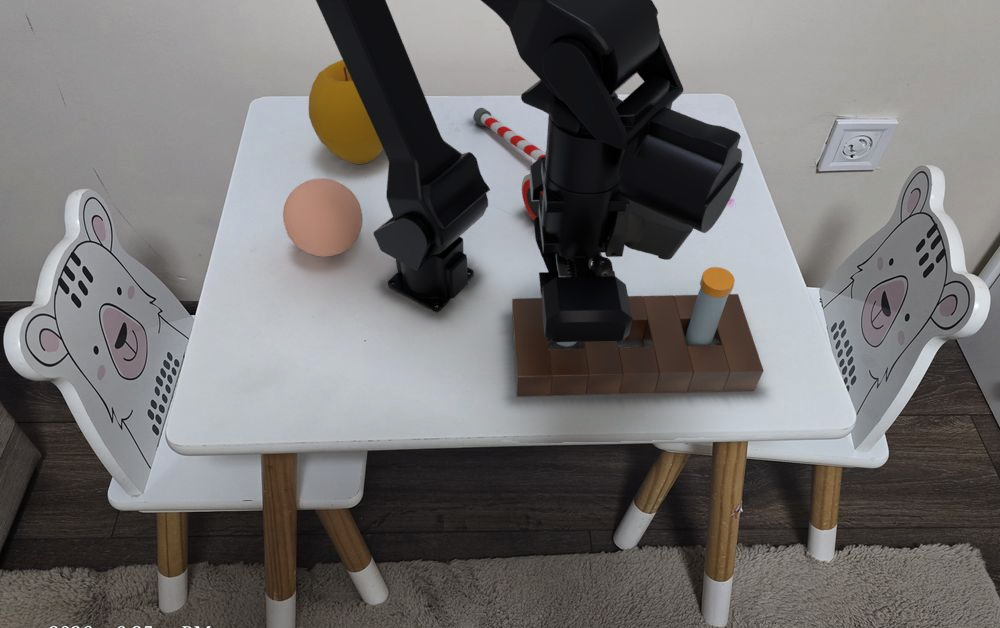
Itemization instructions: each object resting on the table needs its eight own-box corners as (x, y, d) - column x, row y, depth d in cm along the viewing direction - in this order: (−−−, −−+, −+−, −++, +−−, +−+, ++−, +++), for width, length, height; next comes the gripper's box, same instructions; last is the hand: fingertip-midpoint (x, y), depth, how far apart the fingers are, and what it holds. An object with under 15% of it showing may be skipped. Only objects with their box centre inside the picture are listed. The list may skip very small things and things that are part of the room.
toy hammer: (439, 137, 93) (436, 92, 88) (516, 106, 98) (517, 61, 93) (553, 242, 81) (557, 196, 76) (635, 201, 85) (644, 156, 81)
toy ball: (341, 211, 84) (330, 153, 78) (381, 248, 80) (373, 190, 74) (278, 243, 80) (260, 185, 74) (316, 284, 76) (301, 226, 71)
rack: (516, 396, 68) (517, 376, 65) (511, 319, 74) (512, 298, 71) (755, 390, 68) (764, 370, 66) (730, 314, 74) (738, 293, 72)
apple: (321, 131, 94) (304, 43, 85) (400, 128, 94) (390, 40, 85) (315, 181, 87) (295, 91, 78) (399, 177, 88) (389, 88, 79)
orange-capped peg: (688, 366, 70) (712, 293, 63) (674, 344, 72) (696, 271, 64) (714, 358, 71) (741, 285, 63) (699, 337, 72) (724, 263, 65)
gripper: (725, 258, 49) (679, 397, 60) (671, 95, 61) (641, 237, 73) (552, 261, 48) (540, 400, 60) (533, 96, 60) (526, 239, 72)
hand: (567, 311), depth 66 cm, fingers closed on tube grey, 2 cm apart
